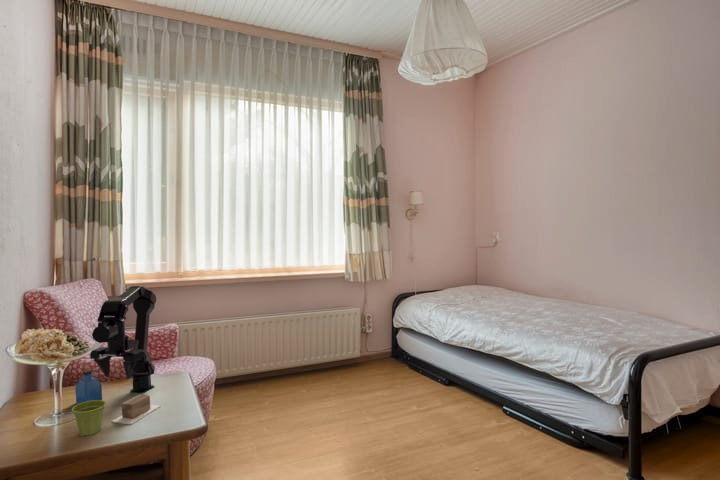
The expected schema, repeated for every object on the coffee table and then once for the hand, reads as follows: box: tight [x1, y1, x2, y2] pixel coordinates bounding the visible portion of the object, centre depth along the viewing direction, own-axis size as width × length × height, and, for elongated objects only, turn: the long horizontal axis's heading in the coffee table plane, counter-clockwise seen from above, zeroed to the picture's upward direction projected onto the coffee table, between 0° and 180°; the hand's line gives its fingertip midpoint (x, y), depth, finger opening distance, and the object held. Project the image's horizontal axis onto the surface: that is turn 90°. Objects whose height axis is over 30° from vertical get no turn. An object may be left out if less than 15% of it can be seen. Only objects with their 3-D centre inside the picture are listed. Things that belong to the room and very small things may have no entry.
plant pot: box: [71, 399, 107, 436], centre depth 143 cm, size 9×9×9 cm
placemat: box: [111, 404, 161, 426], centre depth 155 cm, size 14×8×1 cm, turn 165°
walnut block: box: [121, 394, 151, 419], centre depth 155 cm, size 4×8×5 cm, turn 162°
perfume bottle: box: [75, 368, 103, 405], centre depth 167 cm, size 6×6×12 cm
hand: (118, 377), depth 158 cm, fingers open, 9 cm apart
